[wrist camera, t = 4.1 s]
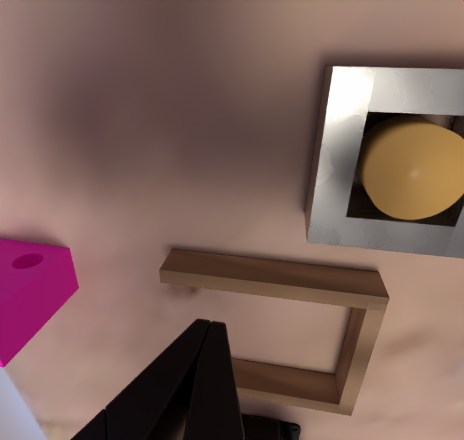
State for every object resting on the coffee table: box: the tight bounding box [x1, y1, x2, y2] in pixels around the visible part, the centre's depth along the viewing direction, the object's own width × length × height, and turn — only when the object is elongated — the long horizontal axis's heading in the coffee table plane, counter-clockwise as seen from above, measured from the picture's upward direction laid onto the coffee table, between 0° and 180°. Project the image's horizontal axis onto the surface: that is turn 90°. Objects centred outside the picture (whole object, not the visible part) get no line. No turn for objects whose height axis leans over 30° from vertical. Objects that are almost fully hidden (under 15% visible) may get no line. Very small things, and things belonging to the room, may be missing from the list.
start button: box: [355, 115, 464, 220], centre depth 14 cm, size 4×4×3 cm
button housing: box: [305, 65, 464, 258], centre depth 15 cm, size 8×8×3 cm
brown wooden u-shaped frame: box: [159, 249, 389, 416], centre depth 22 cm, size 11×14×2 cm
